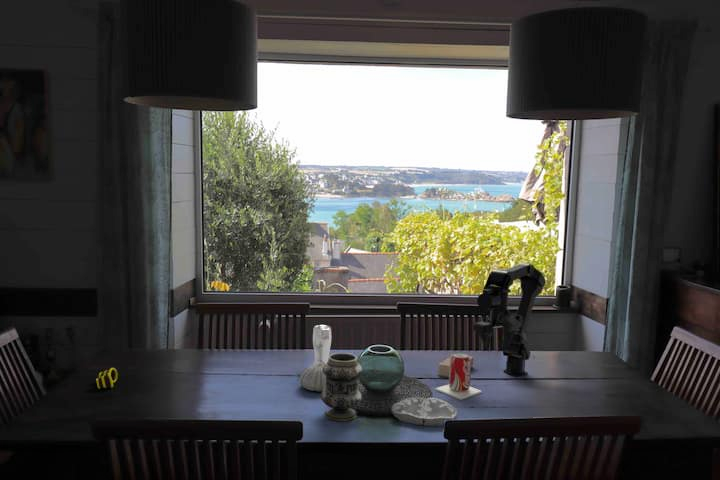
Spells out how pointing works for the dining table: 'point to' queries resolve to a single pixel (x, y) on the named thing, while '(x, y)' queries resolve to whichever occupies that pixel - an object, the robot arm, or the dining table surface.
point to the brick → (448, 366)
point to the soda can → (459, 372)
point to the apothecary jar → (341, 386)
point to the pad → (458, 395)
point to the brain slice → (424, 411)
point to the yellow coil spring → (107, 378)
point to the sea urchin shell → (314, 378)
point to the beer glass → (321, 343)
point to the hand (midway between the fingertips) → (497, 349)
